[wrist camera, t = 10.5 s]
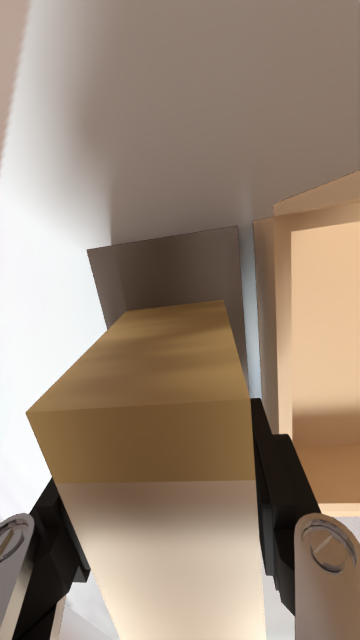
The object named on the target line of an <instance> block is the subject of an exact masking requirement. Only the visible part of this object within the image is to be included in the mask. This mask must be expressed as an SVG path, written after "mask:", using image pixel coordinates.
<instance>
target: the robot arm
mask: <svg viewBox="0 0 360 640" xmlns="http://www.w3.org/2000/svg"><path fill="white" fill-rule="evenodd" d="M250 403H251V418H252V433H253V448H254V464H255V479H256V494H257V509H258V524H259V539H260V545H261V551H262V556H263V562H264V567H265V573H266V575H267V576H273V578H274V583H275V588H276V590H279V593H280V597H281V602H282V603H283V604H284V605H285V606H286V608H287V609H288V610H289V611H290V612H291V613H292V614H293V615H294V616H295V640H360V544H359V542H358V541H357V539H356V538H355V536H354V535H353V533H352V532H351V531H350V530H349V529H348V528H347V527H346V526H345V525H344V524H342V523H341V522H339V521H338V520H336V519H335V518H333V517H330V516H328V515H325V514H322V513H321V510H320V508H319V505H318V503H317V501H316V498H315V496H314V493H313V491H312V488H311V486H310V484H309V481H308V479H307V476H306V474H305V472H304V469H303V467H302V464H301V462H300V460H299V457H298V455H297V452H296V450H295V447H294V445H293V443H292V440H291V438H290V436H289V435H288V434H272V431H271V428H270V425H269V422H268V419H267V416H266V413H265V410H264V407H263V404H262V401H261V399H260V398H251V399H250ZM90 571H91V568H90V566H89V563H88V561H87V558H86V556H85V554H84V551H83V549H82V546H81V544H80V542H79V539H78V537H77V535H76V532H75V530H74V527H73V525H72V523H71V520H70V518H69V515H68V513H67V511H66V508H65V506H64V504H63V501H62V499H61V496H60V494H59V492H58V489H57V487H56V484H55V482H54V480H53V477H52V478H51V480H50V481H49V483H48V485H47V486H46V488H45V489H44V491H43V493H42V494H41V496H40V497H39V499H38V501H37V502H36V504H35V505H34V507H33V509H32V510H31V512H30V513H29V514H26V513H21V514H16V515H14V516H11V517H9V518H7V519H6V520H4V521H3V522H1V523H0V640H58V638H59V633H60V627H61V622H62V616H63V611H64V605H65V600H66V594H67V593H68V592H69V590H70V588H71V585H72V582H85V583H86V582H87V579H88V576H89V574H90Z"/></svg>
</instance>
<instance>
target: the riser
mask: <svg viewBox="0 0 360 640" xmlns="http://www.w3.org/2000/svg"><path fill="white" fill-rule="evenodd" d="M87 254H88V258H89V261H90V265H91V269H92V273H93V277H94V280H95V284H96V288H97V292H98V296H99V300H100V303H101V307H102V311H103V315H104V319H105V323H106V326H107V330H108V329H109V328H110V327H111V326H112V325H113V324H114V323H115V322H116V321H117V320H118V319H119V318H120V317H121V316H122V315H123V314H124V313H125V312H126V311H130V310H139V309H147V308H156V307H165V306H173V305H182V304H190V303H199V302H207V301H216V300H224V304H225V308H226V311H227V315H228V319H229V322H230V326H231V330H232V333H233V337H234V341H235V345H236V348H237V352H238V356H239V359H240V363H241V367H242V370H243V374H244V378H245V381H246V385H247V389H248V393H249V382H248V368H247V354H246V340H245V326H244V312H243V298H242V284H241V270H240V256H239V242H238V228H237V226H232V227H225V228H219V229H213V230H207V231H200V232H194V233H188V234H181V235H175V236H169V237H163V238H156V239H150V240H144V241H138V242H131V243H125V244H119V245H112V246H106V247H100V248H94V249H87Z"/></svg>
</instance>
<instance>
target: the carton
mask: <svg viewBox="0 0 360 640" xmlns="http://www.w3.org/2000/svg"><path fill="white" fill-rule="evenodd" d="M253 232H254V252H255V271H256V290H257V309H258V329H259V348H260V367H261V387H262V404H263V407H264V410H265V413H266V416H267V419H268V422H269V425H270V428H271V431H272V434H288V435H289V436H290V438H291V440H292V443H293V445H294V447H295V450H296V452H297V455H298V457H299V460H300V462H301V464H302V467H303V469H304V472H305V474H306V476H307V479H308V481H309V484H310V486H311V488H312V491H313V493H314V496H315V498H316V501H317V503H318V505H319V508H320V510H321V513H322V514H325V515H328V516H360V170H358V171H356V172H353V173H351V174H348V175H346V176H343V177H341V178H338V179H336V180H333V181H331V182H328V183H326V184H323V185H321V186H318V187H316V188H313V189H311V190H308V191H306V192H303V193H301V194H298V195H296V196H293V197H291V198H288V199H286V200H283V201H281V202H278V203H276V204H273V217H270V218H265V219H261V220H256V221H253Z"/></svg>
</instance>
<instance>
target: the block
mask: <svg viewBox="0 0 360 640" xmlns="http://www.w3.org/2000/svg"><path fill="white" fill-rule="evenodd" d="M26 415H27V418H28V420H29V422H30V425H31V427H32V430H33V432H34V434H35V437H36V439H37V442H38V444H39V446H40V449H41V451H42V453H43V456H44V458H45V461H46V463H47V465H48V468H49V470H50V473H51V475H52V477H53V480H54V482H55V484H56V487H57V489H58V492H59V494H60V496H61V499H62V501H63V504H64V506H65V508H66V511H67V513H68V515H69V518H70V520H71V523H72V525H73V527H74V530H75V532H76V535H77V537H78V539H79V542H80V544H81V546H82V549H83V551H84V554H85V556H86V558H87V561H88V563H89V566H90V568H91V570H92V573H93V575H94V577H95V580H96V582H97V585H98V587H99V589H100V592H101V594H102V597H103V599H104V601H105V604H106V606H107V608H108V611H109V613H110V616H111V618H112V620H113V623H114V625H115V628H116V630H117V632H118V635H119V637H120V639H121V640H266V631H265V615H264V600H263V585H262V570H261V555H260V539H259V524H258V509H257V494H256V479H255V464H254V448H253V433H252V418H251V403H250V396H249V393H248V389H247V385H246V381H245V378H244V374H243V370H242V367H241V363H240V359H239V356H238V352H237V348H236V345H235V341H234V337H233V333H232V330H231V326H230V322H229V319H228V315H227V311H226V308H225V304H224V300H216V301H207V302H199V303H190V304H182V305H173V306H165V307H156V308H147V309H139V310H130V311H126V312H125V313H124V314H123V315H122V316H121V317H120V318H119V319H118V320H117V321H116V322H115V323H114V324H113V325H112V326H111V327H110V328H109V329H108V330H107V331H106V332H105V333H104V334H103V335H102V336H101V337H100V338H99V339H98V340H97V341H96V342H95V343H94V344H93V345H92V346H91V347H90V348H89V349H88V350H87V351H86V352H85V353H84V354H83V355H82V356H81V357H80V358H79V359H78V360H77V361H76V362H75V363H74V364H73V365H72V366H71V367H70V368H69V369H68V370H67V371H66V372H65V373H64V374H63V375H62V376H61V377H60V378H59V379H58V380H57V381H56V382H55V383H54V384H53V385H52V386H51V387H50V388H49V389H48V390H47V391H46V392H45V393H44V394H43V395H42V396H41V397H40V398H39V399H38V400H37V401H36V402H35V403H34V404H33V406H32V407H31V408H30V409H29V410H28V411H27V412H26Z"/></svg>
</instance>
